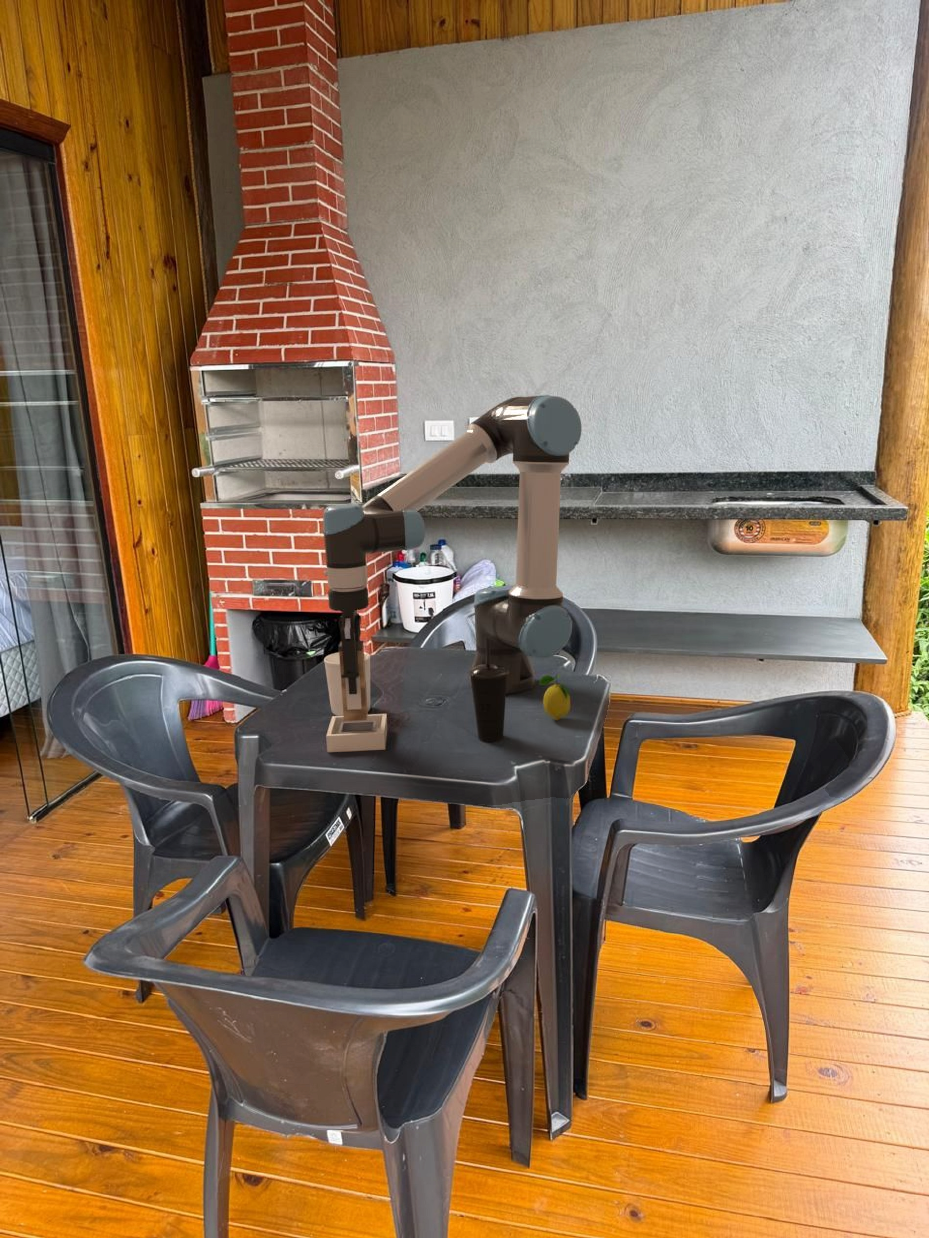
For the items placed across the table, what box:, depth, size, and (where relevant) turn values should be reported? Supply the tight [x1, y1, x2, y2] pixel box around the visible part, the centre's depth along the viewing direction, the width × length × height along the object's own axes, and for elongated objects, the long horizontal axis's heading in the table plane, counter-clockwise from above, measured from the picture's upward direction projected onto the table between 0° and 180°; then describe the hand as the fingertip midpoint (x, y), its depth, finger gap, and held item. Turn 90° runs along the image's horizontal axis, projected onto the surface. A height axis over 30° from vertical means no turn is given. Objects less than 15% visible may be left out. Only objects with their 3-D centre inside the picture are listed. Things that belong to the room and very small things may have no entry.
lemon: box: [538, 673, 572, 721], centre depth 180 cm, size 7×6×10 cm
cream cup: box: [323, 651, 371, 716], centre depth 190 cm, size 10×10×12 cm
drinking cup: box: [468, 639, 508, 743], centre depth 171 cm, size 8×8×20 cm
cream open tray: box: [325, 713, 389, 753], centre depth 174 cm, size 11×11×3 cm
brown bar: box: [338, 640, 369, 721], centre depth 171 cm, size 4×4×15 cm
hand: (355, 704), depth 172 cm, fingers closed on brown bar, 3 cm apart
